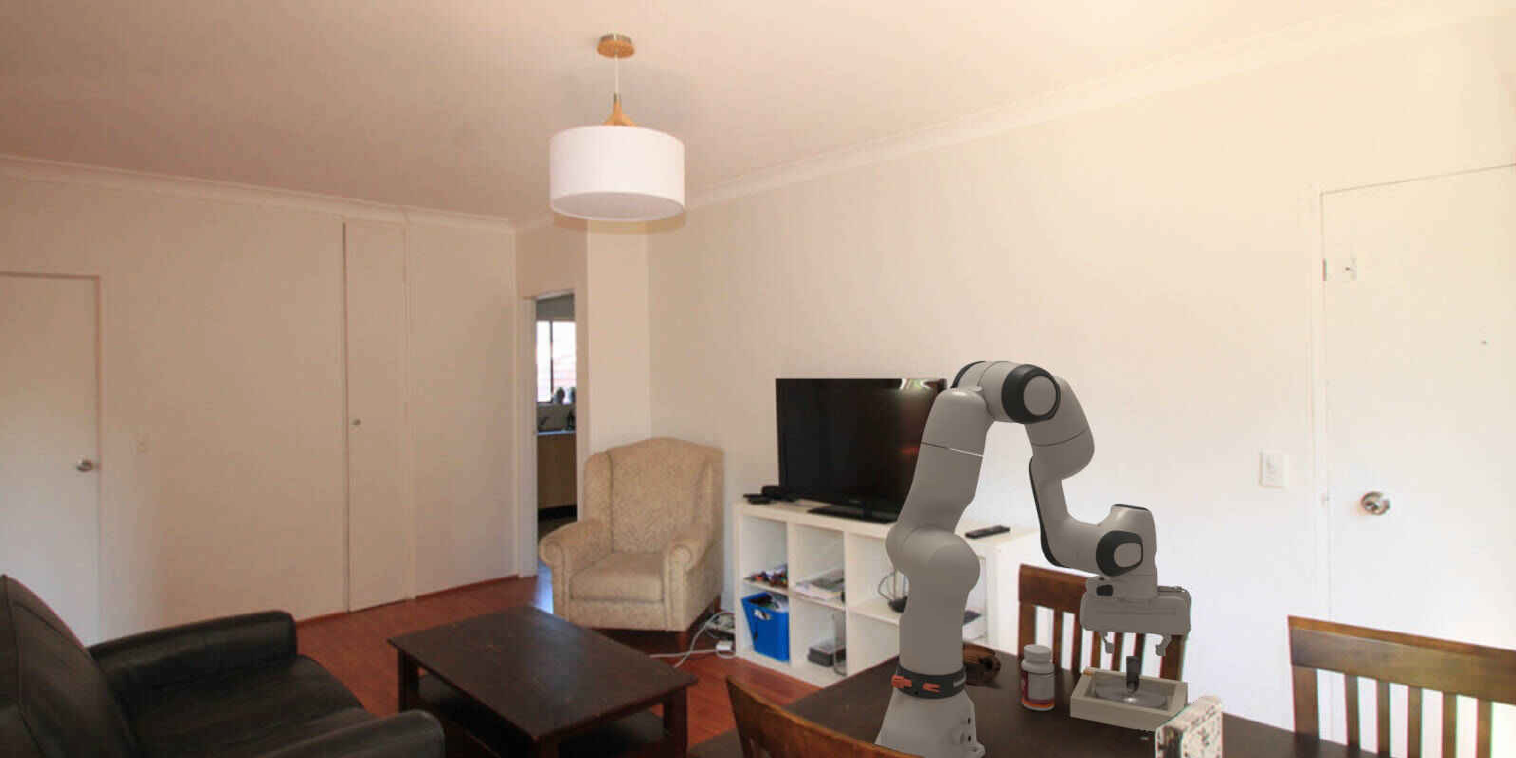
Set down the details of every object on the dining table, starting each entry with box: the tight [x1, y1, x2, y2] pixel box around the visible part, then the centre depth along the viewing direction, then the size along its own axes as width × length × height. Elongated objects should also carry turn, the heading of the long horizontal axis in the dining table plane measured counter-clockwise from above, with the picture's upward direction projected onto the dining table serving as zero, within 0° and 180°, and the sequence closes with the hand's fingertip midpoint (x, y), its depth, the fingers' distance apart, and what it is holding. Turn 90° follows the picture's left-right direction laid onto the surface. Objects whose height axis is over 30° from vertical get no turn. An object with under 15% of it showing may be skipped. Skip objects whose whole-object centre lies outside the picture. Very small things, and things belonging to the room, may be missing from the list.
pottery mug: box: [963, 643, 1002, 686], centre depth 176 cm, size 12×10×8 cm
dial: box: [1094, 655, 1167, 711], centre depth 160 cm, size 13×13×7 cm
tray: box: [1069, 666, 1189, 733], centre depth 160 cm, size 19×19×4 cm
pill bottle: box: [1020, 643, 1055, 712], centre depth 162 cm, size 6×6×11 cm
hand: (1134, 653), depth 164 cm, fingers open, 8 cm apart
